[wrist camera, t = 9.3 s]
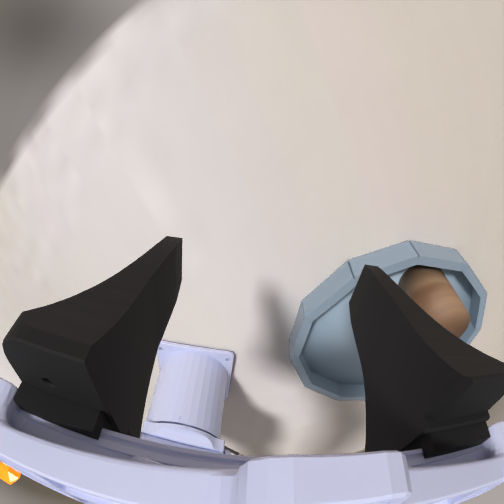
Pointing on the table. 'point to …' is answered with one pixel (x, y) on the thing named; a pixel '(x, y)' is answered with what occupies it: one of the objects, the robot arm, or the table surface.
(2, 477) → the orange juice
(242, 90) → the table surface
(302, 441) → the table surface
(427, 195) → the table surface
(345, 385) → the round tray
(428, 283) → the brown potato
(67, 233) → the table surface
